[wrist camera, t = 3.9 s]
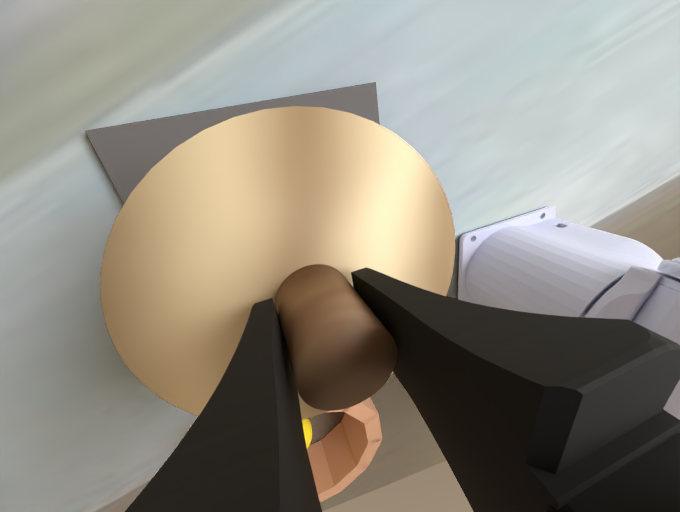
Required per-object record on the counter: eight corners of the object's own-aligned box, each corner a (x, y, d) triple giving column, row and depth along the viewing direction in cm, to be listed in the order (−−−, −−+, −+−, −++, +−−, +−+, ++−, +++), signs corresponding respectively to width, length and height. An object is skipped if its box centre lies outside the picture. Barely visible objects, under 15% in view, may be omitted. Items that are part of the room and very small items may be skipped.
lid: (442, 77, 10) (579, 43, 6) (443, 344, 15) (512, 414, 12) (0, 158, 7) (-290, 195, 3) (205, 450, 12) (194, 589, 9)
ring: (351, 335, 22) (372, 373, 19) (368, 426, 28) (387, 468, 24) (193, 395, 20) (184, 451, 16) (246, 482, 25) (248, 538, 22)
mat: (372, 83, 16) (375, 82, 15) (392, 289, 22) (394, 292, 22) (88, 130, 13) (84, 130, 12) (207, 355, 19) (206, 359, 19)
